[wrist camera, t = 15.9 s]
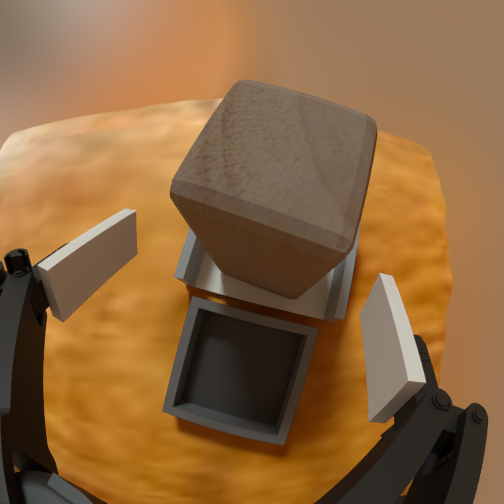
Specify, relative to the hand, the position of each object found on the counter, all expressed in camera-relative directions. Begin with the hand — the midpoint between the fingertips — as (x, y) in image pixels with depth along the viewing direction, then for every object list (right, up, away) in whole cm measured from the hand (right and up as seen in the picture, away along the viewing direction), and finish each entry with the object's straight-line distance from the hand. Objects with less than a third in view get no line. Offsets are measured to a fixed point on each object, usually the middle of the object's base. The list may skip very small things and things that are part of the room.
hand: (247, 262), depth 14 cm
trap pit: (-1, -13, +16) cm, 21 cm away
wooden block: (+3, +1, +19) cm, 20 cm away
